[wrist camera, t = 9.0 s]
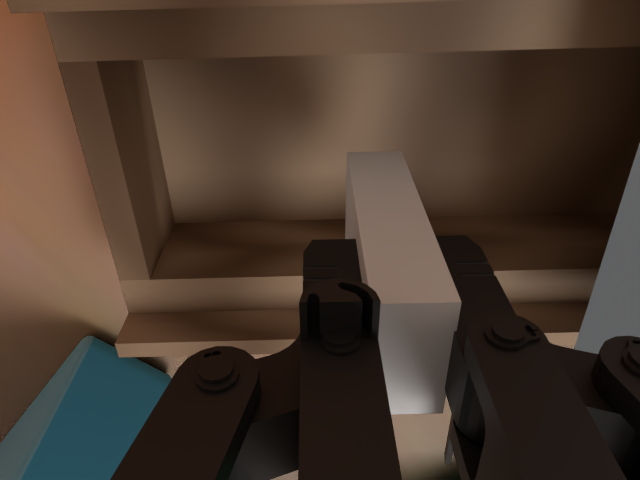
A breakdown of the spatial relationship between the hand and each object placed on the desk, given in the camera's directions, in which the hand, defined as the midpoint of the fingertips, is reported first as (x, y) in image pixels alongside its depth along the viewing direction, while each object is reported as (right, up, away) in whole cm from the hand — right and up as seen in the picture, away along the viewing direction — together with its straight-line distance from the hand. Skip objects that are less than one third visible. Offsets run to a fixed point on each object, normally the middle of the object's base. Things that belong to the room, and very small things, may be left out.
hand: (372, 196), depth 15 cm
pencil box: (+2, +3, +4) cm, 6 cm away
